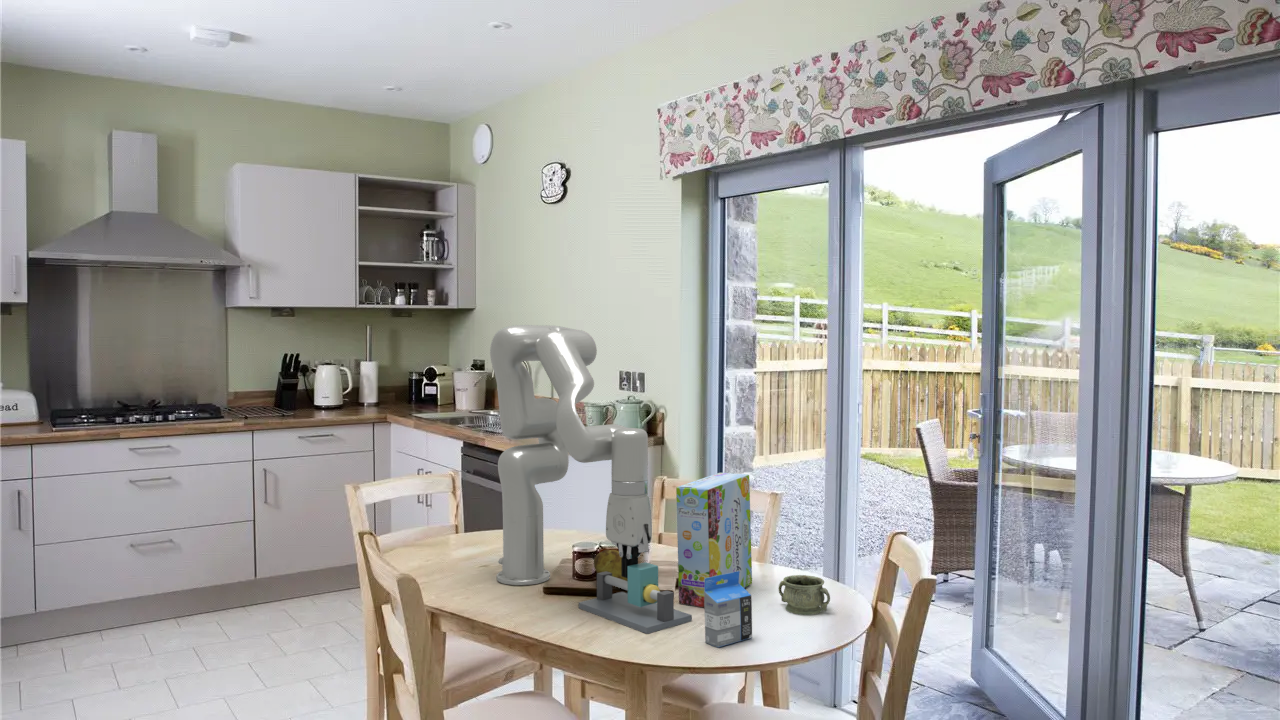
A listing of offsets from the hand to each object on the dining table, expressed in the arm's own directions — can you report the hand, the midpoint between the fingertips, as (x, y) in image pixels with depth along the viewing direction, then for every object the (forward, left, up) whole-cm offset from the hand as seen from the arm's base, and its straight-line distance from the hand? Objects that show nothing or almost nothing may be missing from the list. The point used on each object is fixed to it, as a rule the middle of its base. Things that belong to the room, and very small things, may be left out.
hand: (629, 576), depth 188 cm
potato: (-17, +11, -8) cm, 22 cm away
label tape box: (+25, +3, -8) cm, 27 cm away
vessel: (+22, +29, -8) cm, 37 cm away
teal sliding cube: (+4, 0, -5) cm, 6 cm away
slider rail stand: (+1, 0, -8) cm, 8 cm away
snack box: (+2, +23, -8) cm, 24 cm away
